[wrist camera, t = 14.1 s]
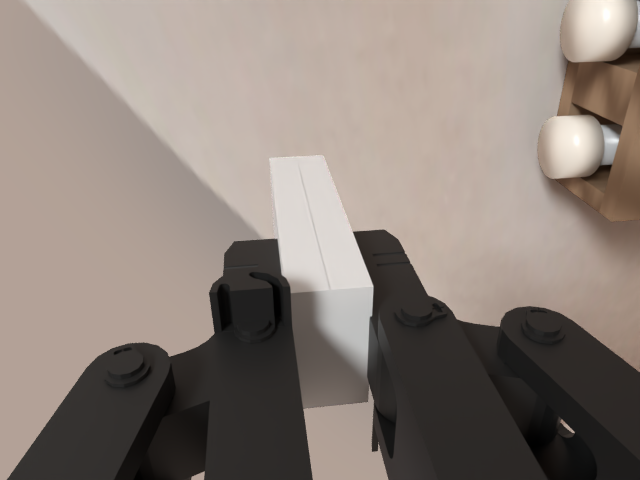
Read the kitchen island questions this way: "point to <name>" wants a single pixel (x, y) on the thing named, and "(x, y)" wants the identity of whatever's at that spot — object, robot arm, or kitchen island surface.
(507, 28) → the kitchen island surface
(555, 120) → the knob
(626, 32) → the knob
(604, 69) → the mount
